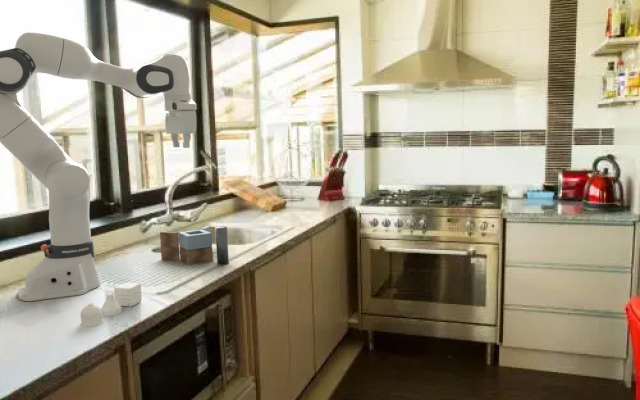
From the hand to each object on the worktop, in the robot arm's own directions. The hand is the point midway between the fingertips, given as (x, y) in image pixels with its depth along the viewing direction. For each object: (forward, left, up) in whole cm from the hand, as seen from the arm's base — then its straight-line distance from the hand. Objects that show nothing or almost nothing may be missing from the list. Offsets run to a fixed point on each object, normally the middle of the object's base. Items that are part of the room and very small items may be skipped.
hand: (181, 147), depth 174 cm
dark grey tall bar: (+12, -2, -42) cm, 43 cm away
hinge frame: (+4, +11, -41) cm, 43 cm away
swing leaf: (+9, +11, -41) cm, 43 cm away
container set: (-32, -30, -42) cm, 61 cm away
